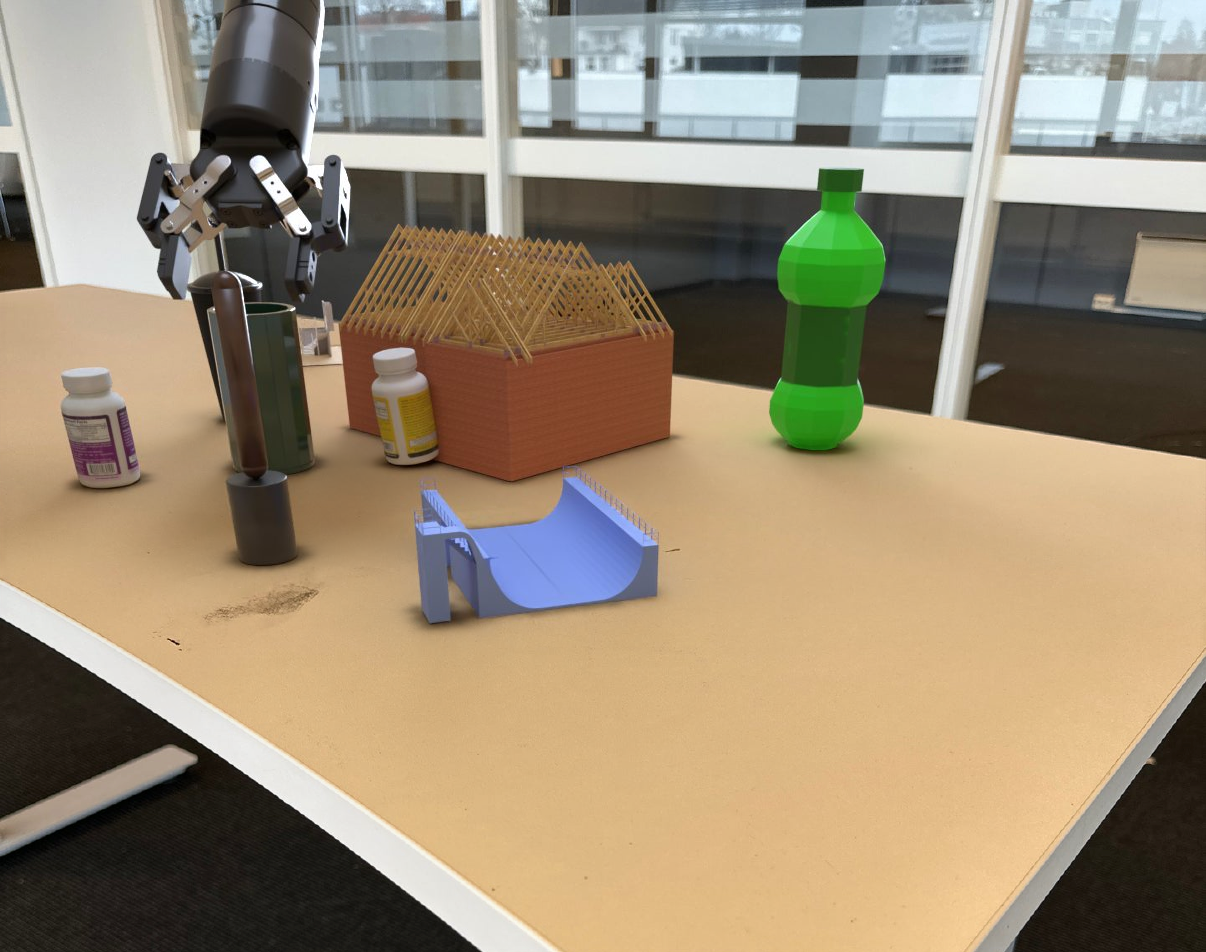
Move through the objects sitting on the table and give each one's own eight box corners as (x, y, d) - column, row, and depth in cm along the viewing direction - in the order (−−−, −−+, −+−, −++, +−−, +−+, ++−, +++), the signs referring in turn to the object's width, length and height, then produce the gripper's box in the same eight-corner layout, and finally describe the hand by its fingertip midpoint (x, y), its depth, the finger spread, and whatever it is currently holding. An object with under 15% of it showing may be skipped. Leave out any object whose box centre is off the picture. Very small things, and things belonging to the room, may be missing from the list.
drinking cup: (269, 407, 128) (240, 211, 118) (289, 421, 123) (262, 217, 112) (201, 415, 125) (166, 214, 115) (220, 429, 120) (184, 219, 109)
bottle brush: (226, 560, 85) (175, 272, 75) (263, 543, 89) (220, 265, 78) (273, 569, 84) (228, 276, 73) (309, 551, 87) (271, 269, 77)
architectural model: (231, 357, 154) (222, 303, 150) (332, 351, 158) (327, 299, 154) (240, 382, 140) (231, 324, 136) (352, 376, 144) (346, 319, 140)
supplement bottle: (447, 447, 111) (430, 344, 105) (430, 466, 107) (411, 360, 101) (396, 447, 112) (376, 346, 107) (377, 467, 108) (355, 362, 102)
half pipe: (656, 597, 80) (660, 497, 76) (429, 626, 75) (421, 521, 71) (576, 522, 94) (576, 435, 90) (382, 543, 89) (372, 452, 86)
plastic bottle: (752, 432, 120) (773, 166, 107) (848, 431, 121) (880, 166, 108) (774, 457, 112) (799, 171, 99) (876, 455, 113) (914, 171, 100)
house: (673, 437, 118) (681, 234, 108) (514, 482, 103) (506, 252, 93) (492, 397, 134) (484, 216, 124) (332, 431, 119) (308, 229, 109)
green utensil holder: (216, 470, 106) (188, 311, 99) (267, 451, 112) (245, 300, 105) (281, 480, 104) (257, 317, 96) (330, 460, 110) (311, 305, 102)
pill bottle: (113, 470, 106) (89, 363, 101) (153, 478, 104) (131, 368, 99) (66, 484, 102) (38, 373, 97) (107, 492, 100) (81, 379, 95)
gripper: (143, 53, 78) (108, 254, 74) (345, 54, 77) (318, 257, 73) (187, 140, 85) (157, 327, 81) (371, 142, 84) (349, 330, 81)
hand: (233, 293), depth 77 cm, fingers open, 8 cm apart
